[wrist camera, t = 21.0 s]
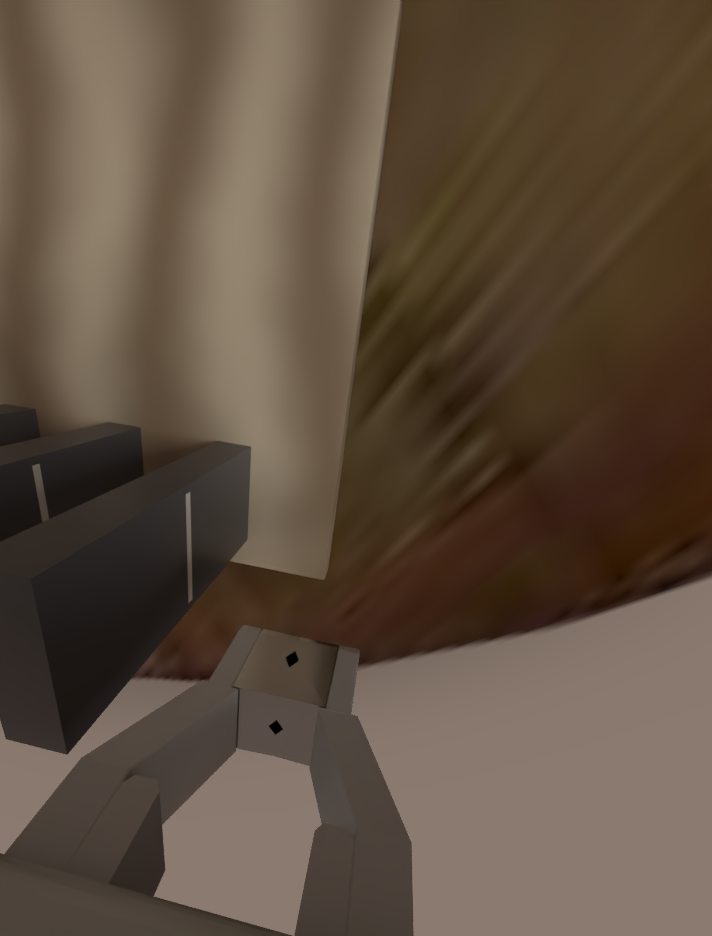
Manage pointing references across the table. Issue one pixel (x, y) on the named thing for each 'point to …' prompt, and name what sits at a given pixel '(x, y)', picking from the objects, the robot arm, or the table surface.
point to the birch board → (196, 232)
